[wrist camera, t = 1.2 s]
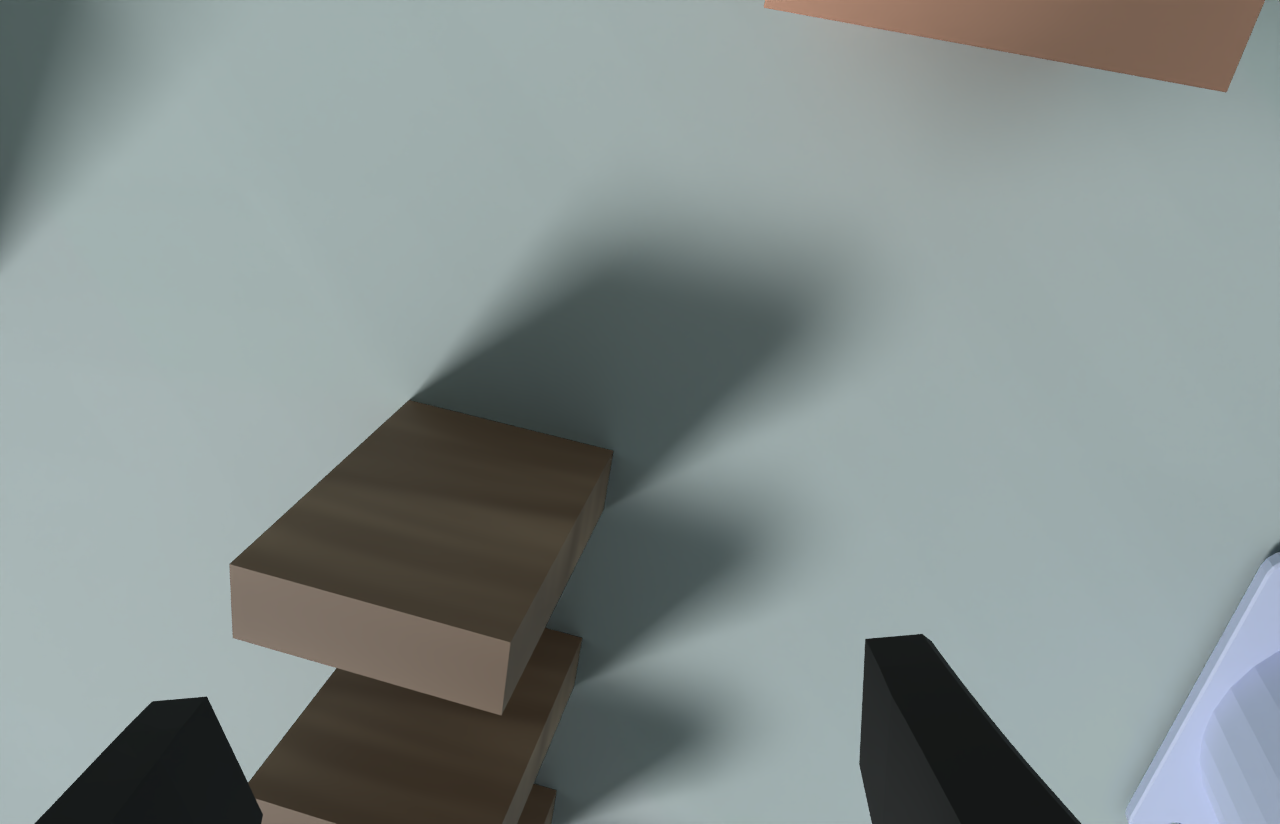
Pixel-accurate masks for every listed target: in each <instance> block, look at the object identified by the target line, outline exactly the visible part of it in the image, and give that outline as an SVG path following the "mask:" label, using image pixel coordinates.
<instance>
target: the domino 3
mask: <svg viewBox="0 0 1280 824" xmlns="http://www.w3.org/2000/svg"><path fill="white" fill-rule="evenodd" d="M1264 1H1265V0H765V3H764V8H769V9H774V10H780V11H785V12H791V13H796V14H802V15H807V16H813V17H818V18H824V19H829V20H834V21H840V22H845V23H851V24H856V25H862V26H867V27H873V28H878V29H884V30H889V31H895V32H900V33H905V34H911V35H916V36H922V37H927V38H933V39H938V40H944V41H949V42H955V43H960V44H965V45H971V46H976V47H982V48H987V49H993V50H998V51H1004V52H1009V53H1015V54H1020V55H1026V56H1031V57H1036V58H1042V59H1047V60H1053V61H1058V62H1064V63H1069V64H1075V65H1080V66H1086V67H1091V68H1096V69H1102V70H1107V71H1113V72H1118V73H1124V74H1129V75H1135V76H1140V77H1146V78H1151V79H1156V80H1162V81H1167V82H1173V83H1178V84H1184V85H1189V86H1195V87H1200V88H1206V89H1211V90H1217V91H1222V92H1227V90H1228V87H1229V85H1230V83H1231V80H1232V78H1233V75H1234V73H1235V71H1236V68H1237V66H1238V64H1239V61H1240V59H1241V56H1242V54H1243V52H1244V49H1245V47H1246V44H1247V42H1248V40H1249V37H1250V35H1251V33H1252V30H1253V28H1254V25H1255V23H1256V21H1257V18H1258V16H1259V13H1260V11H1261V9H1262V6H1263V4H1264Z"/></svg>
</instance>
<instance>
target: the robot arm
mask: <svg viewBox="0 0 1280 824" xmlns="http://www.w3.org/2000/svg"><path fill="white" fill-rule="evenodd" d="M859 764H860V769H861V774H862V779H863V783H864V788H865V793H866V797H867V802H868V807H869V811H870V816H871V821H872V824H1081V823H1080V822H1079V820H1078V819H1077V818H1076V817H1075V816H1074V815H1073V814H1072V813H1071V812H1070V810H1069V809H1068V808H1067V807H1066V806H1065V805H1064V804H1063V803H1062V801H1061V800H1060V799H1059V798H1058V797H1057V796H1056V795H1055V793H1054V792H1053V791H1052V790H1051V789H1050V788H1049V787H1048V786H1047V784H1046V783H1045V782H1044V781H1043V780H1042V779H1041V778H1040V777H1039V775H1038V774H1037V773H1036V772H1035V771H1034V770H1033V769H1032V767H1031V766H1030V765H1029V764H1028V763H1027V762H1026V761H1025V759H1024V758H1023V757H1022V756H1021V755H1020V753H1019V752H1018V751H1017V750H1016V749H1015V747H1014V746H1013V745H1012V744H1011V743H1010V742H1009V740H1008V739H1007V738H1006V737H1005V735H1004V734H1003V733H1002V732H1001V731H1000V729H999V728H998V727H997V726H996V724H995V723H994V722H993V721H992V720H991V718H990V717H989V716H988V715H987V713H986V712H985V711H984V710H983V708H982V707H981V706H980V705H979V703H978V702H977V701H976V700H975V698H974V697H973V696H972V695H971V693H970V692H969V691H968V689H967V688H966V687H965V686H964V684H963V683H962V682H961V680H960V679H959V678H958V676H957V675H956V674H955V672H954V671H953V670H952V668H951V667H950V666H949V664H948V663H947V662H946V660H945V659H944V658H943V656H942V655H941V654H940V652H939V651H938V650H937V648H936V647H935V645H934V644H933V643H932V641H930V640H929V639H928V638H927V637H925V636H924V635H923V634H917V635H906V636H895V637H883V638H872V639H865V659H864V680H863V701H862V721H861V742H860V763H859ZM1125 814H1126V817H1127V820H1128V823H1129V824H1170V823H1179V824H1280V552H1278V553H1275V554H1273V555H1271V556H1270V557H1268V558H1267V559H1266V560H1265V561H1264V562H1263V563H1262V564H1261V566H1260V567H1259V569H1258V571H1257V573H1256V575H1255V576H1254V578H1253V580H1252V582H1251V584H1250V585H1249V587H1248V589H1247V591H1246V593H1245V595H1244V596H1243V598H1242V600H1241V602H1240V604H1239V605H1238V607H1237V609H1236V611H1235V613H1234V614H1233V616H1232V618H1231V620H1230V622H1229V623H1228V625H1227V627H1226V629H1225V631H1224V632H1223V634H1222V636H1221V638H1220V640H1219V641H1218V643H1217V645H1216V647H1215V649H1214V650H1213V652H1212V654H1211V656H1210V658H1209V660H1208V661H1207V663H1206V665H1205V667H1204V669H1203V670H1202V672H1201V674H1200V676H1199V678H1198V679H1197V681H1196V683H1195V685H1194V687H1193V688H1192V690H1191V692H1190V694H1189V696H1188V697H1187V699H1186V701H1185V703H1184V705H1183V706H1182V708H1181V710H1180V712H1179V714H1178V715H1177V717H1176V719H1175V721H1174V723H1173V724H1172V726H1171V728H1170V730H1169V732H1168V734H1167V735H1166V737H1165V739H1164V741H1163V743H1162V744H1161V746H1160V748H1159V750H1158V752H1157V753H1156V755H1155V757H1154V759H1153V761H1152V762H1151V764H1150V766H1149V768H1148V770H1147V771H1146V773H1145V775H1144V777H1143V779H1142V780H1141V782H1140V784H1139V786H1138V788H1137V789H1136V791H1135V793H1134V795H1133V797H1132V798H1131V800H1130V802H1129V804H1128V806H1127V808H1126V812H1125ZM262 817H263V814H262V811H261V809H260V807H259V805H258V803H257V801H256V799H255V797H254V795H253V793H252V790H251V788H250V786H249V784H248V782H247V780H246V778H245V776H244V774H243V772H242V769H241V767H240V765H239V763H238V761H237V759H236V757H235V755H234V753H233V751H232V748H231V746H230V744H229V742H228V740H227V738H226V736H225V734H224V732H223V730H222V727H221V725H220V723H219V721H218V719H217V717H216V715H215V713H214V711H213V709H212V706H211V704H210V702H209V700H208V698H207V697H198V698H187V699H175V700H164V701H153V702H151V703H150V704H149V705H148V706H147V707H146V708H145V709H144V710H143V711H142V712H141V713H140V714H139V715H138V716H137V717H136V718H135V719H134V720H133V721H132V722H131V723H130V724H129V725H128V726H127V727H126V728H125V729H124V731H123V732H122V733H121V734H120V735H119V736H118V737H117V738H116V739H115V740H114V741H113V742H112V743H111V744H110V745H109V746H108V747H107V748H106V749H105V750H104V751H103V752H102V753H101V755H100V756H99V757H98V758H97V759H96V760H95V761H94V762H93V763H92V764H91V765H90V766H89V767H88V768H87V769H86V770H85V771H84V772H83V773H82V775H81V776H80V777H79V778H78V779H77V780H76V781H75V782H74V783H73V784H72V785H71V786H70V787H69V788H68V789H67V790H66V791H65V792H64V793H63V795H62V796H61V797H60V798H59V799H58V800H57V801H56V802H55V803H54V804H53V805H52V806H51V807H50V808H49V809H48V810H47V811H46V812H45V813H44V814H43V815H42V816H41V818H40V819H39V820H38V821H37V822H36V823H35V824H261V822H262Z"/></svg>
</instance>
